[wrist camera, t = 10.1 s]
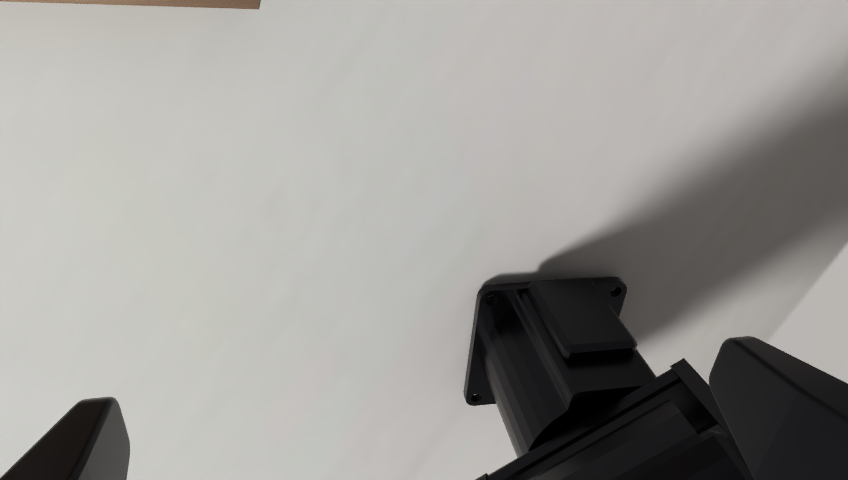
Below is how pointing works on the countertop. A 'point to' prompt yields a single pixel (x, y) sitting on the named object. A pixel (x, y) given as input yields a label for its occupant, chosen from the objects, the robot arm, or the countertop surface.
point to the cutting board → (163, 3)
